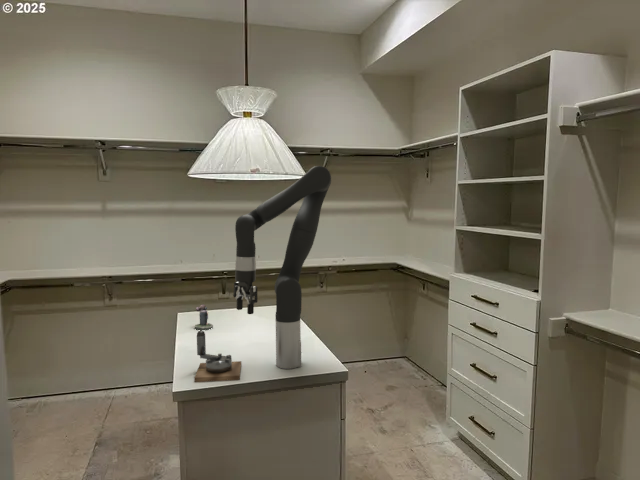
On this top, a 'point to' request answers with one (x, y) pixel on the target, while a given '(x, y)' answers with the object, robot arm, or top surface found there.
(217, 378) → the walnut cap plate
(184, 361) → the top surface
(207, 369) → the grey bent piece
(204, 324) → the figurine
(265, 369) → the top surface
